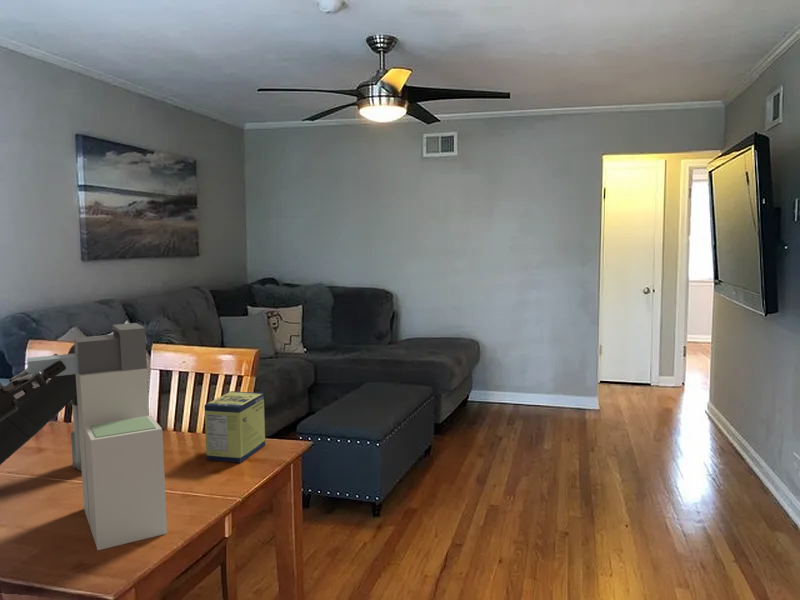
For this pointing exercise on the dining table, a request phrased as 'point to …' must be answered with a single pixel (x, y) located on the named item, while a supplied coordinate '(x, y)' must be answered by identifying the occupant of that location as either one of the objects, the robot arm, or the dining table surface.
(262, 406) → the protein box
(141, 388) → the grey stepped fixture
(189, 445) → the dining table surface
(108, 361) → the plug
